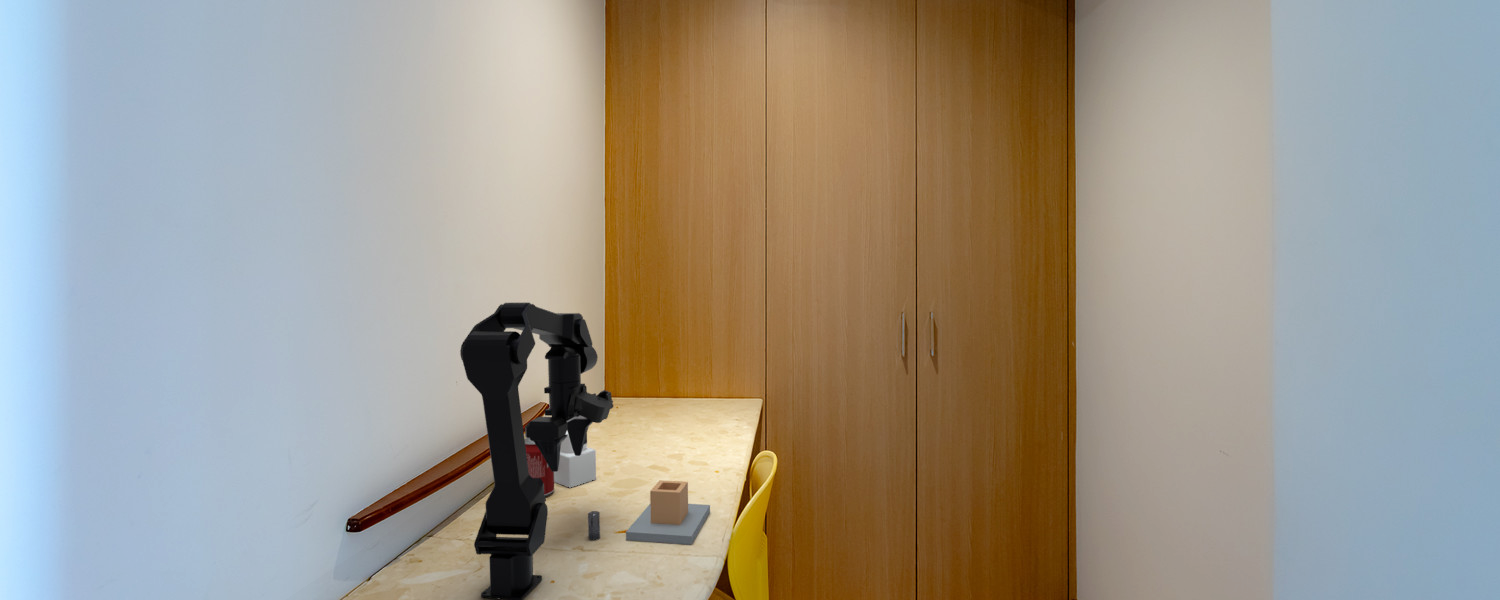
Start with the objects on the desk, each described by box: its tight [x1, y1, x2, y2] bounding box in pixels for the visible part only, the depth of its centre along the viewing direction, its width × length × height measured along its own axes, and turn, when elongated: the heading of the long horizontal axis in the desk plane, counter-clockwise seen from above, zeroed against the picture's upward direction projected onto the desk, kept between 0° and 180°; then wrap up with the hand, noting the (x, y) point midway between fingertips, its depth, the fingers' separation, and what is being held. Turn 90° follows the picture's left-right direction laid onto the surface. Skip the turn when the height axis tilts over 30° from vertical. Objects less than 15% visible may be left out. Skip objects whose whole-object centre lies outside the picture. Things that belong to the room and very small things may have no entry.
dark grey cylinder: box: [587, 510, 601, 541], centre depth 106 cm, size 2×2×4 cm
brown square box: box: [649, 480, 689, 525], centre depth 111 cm, size 6×6×6 cm
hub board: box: [625, 503, 711, 546], centre depth 111 cm, size 14×12×6 cm
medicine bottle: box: [554, 431, 597, 489], centre depth 135 cm, size 7×7×12 cm
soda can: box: [524, 437, 555, 498], centre depth 127 cm, size 7×7×12 cm
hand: (566, 463), depth 111 cm, fingers open, 9 cm apart
